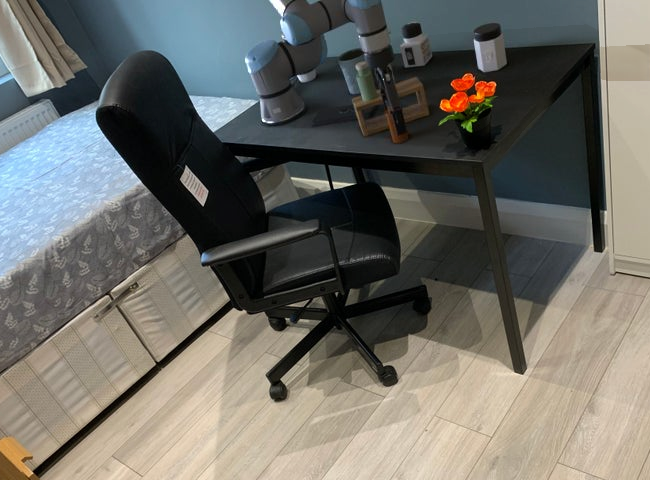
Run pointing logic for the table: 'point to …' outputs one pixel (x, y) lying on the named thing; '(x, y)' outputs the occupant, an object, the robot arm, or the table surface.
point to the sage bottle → (365, 82)
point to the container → (415, 46)
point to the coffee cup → (307, 75)
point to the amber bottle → (392, 127)
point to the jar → (489, 47)
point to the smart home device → (340, 114)
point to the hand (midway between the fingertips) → (396, 124)
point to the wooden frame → (381, 121)
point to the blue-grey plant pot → (352, 68)
